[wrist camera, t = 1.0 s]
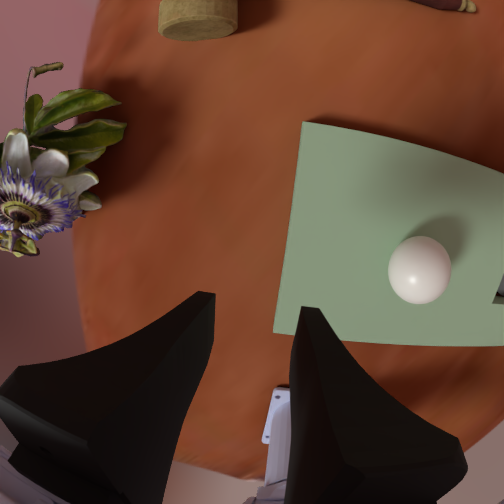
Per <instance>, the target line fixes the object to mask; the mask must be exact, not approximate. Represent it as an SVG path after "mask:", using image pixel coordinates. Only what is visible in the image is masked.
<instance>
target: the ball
mask: <svg viewBox="0 0 504 504" xmlns="http://www.w3.org/2000/svg"><path fill="white" fill-rule="evenodd" d="M388 276H389V281H390V284H391V286H392V288H393V290H394V291H395V293H396V294H397V295H398V296H399V297H400V298H402V299H403V300H405V301H407V302H409V303H412V304H426V303H429V302H432V301H434V300H435V299H437V298H438V297H439V296H441V295H442V293H443V292H444V291H445V290H446V288H447V286H448V284H449V281H450V278H451V261H450V258H449V255H448V253H447V251H446V250H445V248H444V247H443V246H442V245H441V244H440V243H439V242H437V241H436V240H434V239H432V238H430V237H426V236H414V237H411V238H408V239H406V240H404V241H403V242H401V243H400V244H399V245H398V246H397V247H396V249H395V250H394V251H393V253H392V255H391V257H390V260H389V265H388Z"/></svg>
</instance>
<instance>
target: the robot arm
mask: <svg viewBox="0 0 504 504" xmlns="http://www.w3.org/2000/svg"><path fill="white" fill-rule="evenodd" d="M215 298H216V294H215V293H208V292H202V291H198V292H196V293H195V294H193V295H192V296H190V297H189V298H188V299H186V300H185V301H183V302H182V303H181V304H179V305H178V306H177V307H175V308H174V309H172V310H171V311H169V312H168V313H167V314H165V315H164V316H162V317H161V318H159V319H157V320H156V321H154V322H153V323H151V324H149V325H148V326H146V327H144V328H143V329H141V330H139V331H137V332H135V333H134V334H132V335H130V336H128V337H125V338H123V339H121V340H119V341H117V342H115V343H112V344H110V345H107V346H104V347H101V348H99V349H96V350H93V351H90V352H88V353H85V354H81V355H78V356H74V357H70V358H67V359H62V360H58V361H52V362H47V363H40V364H32V365H25V366H18V367H17V368H16V369H15V370H14V372H13V373H12V374H11V375H10V376H9V377H8V379H6V381H5V382H4V383H3V384H2V385H1V387H0V418H1V419H2V421H3V422H4V423H5V425H6V426H7V428H8V429H9V430H10V432H11V433H12V434H13V436H14V437H15V438H16V440H17V441H18V442H19V444H18V445H17V447H16V449H15V450H14V451H13V453H11V452H10V451H8V450H7V449H6V448H4V447H3V446H2V445H0V504H162V501H163V497H164V492H165V488H166V484H167V480H168V475H169V471H170V467H171V464H172V460H173V456H174V452H175V449H176V445H177V442H178V438H179V435H180V431H181V428H182V424H183V421H184V419H185V416H186V413H187V411H188V409H189V406H190V404H191V402H192V399H193V397H194V395H195V392H196V390H197V388H198V385H199V383H200V380H201V378H202V376H203V373H204V371H205V369H206V366H207V364H208V360H209V357H210V353H211V349H212V345H213V342H214V322H215ZM289 386H290V388H282V387H277V388H275V389H274V390H273V394H272V399H271V403H270V407H269V412H268V416H267V420H266V424H265V428H264V432H263V436H262V442H263V443H266V444H269V450H268V459H267V468H266V476H265V485H264V487H258V491H257V497H249V498H248V499H247V500H246V501H245V502H244V503H243V504H437V502H436V501H437V500H439V499H440V498H441V497H442V496H444V495H445V494H446V493H448V492H449V491H450V490H451V489H453V488H454V487H455V486H456V485H457V484H458V483H459V482H460V481H461V480H462V479H463V478H464V476H465V475H466V473H467V471H468V465H467V462H466V459H465V456H464V453H463V450H462V447H461V444H460V442H459V439H458V438H457V437H455V436H453V435H451V434H449V433H447V432H445V431H443V430H441V429H440V428H438V427H436V426H434V425H432V424H430V423H429V422H427V421H425V420H424V419H422V418H421V417H419V416H418V415H416V414H415V413H413V412H412V411H410V410H409V409H408V408H406V407H405V406H403V405H402V404H401V403H399V402H398V401H397V400H396V399H395V398H393V397H392V396H391V395H390V394H389V393H387V392H386V391H385V390H384V389H383V388H382V387H381V386H379V385H378V384H377V383H376V382H375V381H374V380H373V379H372V378H371V377H370V376H369V375H368V374H367V373H366V372H365V370H364V369H363V368H362V367H361V366H360V365H359V364H358V363H357V361H356V360H355V359H354V358H353V356H352V355H351V354H350V353H349V351H348V350H347V349H346V347H345V346H344V345H343V343H342V342H341V340H340V339H339V338H338V336H337V335H336V333H335V332H334V330H333V329H332V327H331V326H330V324H329V322H328V321H327V319H326V318H325V316H324V314H323V313H322V311H321V310H320V309H319V308H315V307H307V306H301V309H300V314H299V319H298V323H297V328H296V332H295V337H294V341H293V346H292V350H291V359H290V372H289ZM277 395H279V396H277ZM498 504H504V500H502V501H501V502H499V503H498Z"/></svg>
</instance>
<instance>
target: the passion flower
mask: <svg viewBox="0 0 504 504" xmlns="http://www.w3.org/2000/svg"><path fill="white" fill-rule="evenodd" d="M62 68H63V63H61V62H56V63H52V64H45V65H42V66H40V67H30V69H29V72H28V75H27V81H26V86H25V95H24V108H23V124H24V126H23V130H22V129H17V128H16V129H12V130H11V131H10V132H9V133H8V135H7V136H6V138H5V140H4V142H3V143H0V250H3V251H9V252H12V253H14V254H15V255H16V256H17V257H20V256H23V255H28V256H38V255H39V254H40V251H39V249H38V248H37V247H36V245H35V242H34V240H39V239H41V238H42V237H43V236H44V234H45V233H48V232H53V231H55V232H61V231H63V230H64V227H66V228H72V222H73V221H74V220H75V219H77V218H78V217H80V216H81V217H84V218H85V216H86V215H83V214H82V210H85V211H86V210H96V209H99V208H101V207H102V204H101V201H100V198H99V197H98V196H97V195H96V194H94V193H92V192H90V191H87V190H88V189H89V188H90V187H91V186H94V185H96V184H97V183H99V179H98V177H97V175H96V174H94V173H93V171H91V170H90V169H88V168H86V167H85V165H87V164H89V163H91V162H93V161H95V160H96V159H98V158H99V157H100V156H101V155H102V154H103V153H104V152H105V150H106V147H107V146H110V145H114V144H115V143H118V142H119V141H120V140H122V139H123V133H124V129H125V128H126V126H127V123H120V122H117V121H114V120H110V119H95V120H92V121H90V122H87V123H83V124H77V125H75V126H73V127H72V128H71V129H69V130H65V131H64V130H59V129H56V128H55V127H54V126H53V125H57V124H58V123H61V122H63V121H65V120H67V119H70V118H73V117H75V116H78V115H80V114H84V113H86V112H90V111H100V110H102V109H104V108H108V107H111V106H115V105H119V104H122V103H121V102H120V101H116V100H114V99H113V98H112V97H111V96H109V95H108V94H105V93H103V92H102V91H100V90H94V89H82V88H79V89H75V90H68V91H63V92H61V93H59V94H58V95H57V96H56V97H54V98H52V99H51V100H50V101H49V103H48V104H47V105H45V106H44V107H43V108H42V106H43V104H42V103H43V99H42V97H41V96H40V95H39V94H35V95H32V96H30V97H29V99H28V101H27V102H26V98H27V88H28V82H29V76H30V72H31V70H32V71H33V78H35V77H36V76H37V75H39V74H42V73H45V72H47V71H54V70H61V69H62ZM41 108H42V109H41ZM32 145H34V146H36V147H43V148H46V149H45V150H42V149H38V148H34V147H30V146H32ZM30 237H31V238H33V239H34V240H32V239H31V238H30ZM22 240H25V241H26V243H25V242H24V241H22Z"/></svg>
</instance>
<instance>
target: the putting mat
mask: <svg viewBox="0 0 504 504" xmlns="http://www.w3.org/2000/svg"><path fill="white" fill-rule="evenodd" d="M414 236H426V237H430V238H432V239H434V240H436V241H437V242H439V243H440V244H441V245H442V246H443V247H444V248H445V250H446V251H447V253H448V255H449V258H450V261H451V278H450V281H449V284H448V286H447V288H446V290H445V291H444V292H443V293H442V295H441V296H439V297H438V298H437V299H435V300H434V301H432V302H429V303H426V304H412V303H409V302H407V301H405V300H403V299H402V298H400V297H399V296H398V295H397V294H396V293H395V291H394V290H393V288H392V286H391V284H390V281H389V276H388V265H389V260H390V257H391V255H392V253H393V251H394V250H395V249H396V247H397V246H398V245H399V244H400V243H401V242H403V241H404V240H406V239H408V238H411V237H414ZM496 292H498V293H499V294H500V295H502V296H495V295H496ZM503 296H504V174H503V173H501V172H498V171H495V170H493V169H490V168H488V167H485V166H482V165H479V164H477V163H474V162H471V161H468V160H465V159H462V158H459V157H456V156H453V155H450V154H447V153H444V152H440V151H437V150H434V149H430V148H427V147H423V146H420V145H416V144H412V143H409V142H405V141H401V140H397V139H393V138H389V137H384V136H380V135H375V134H371V133H366V132H361V131H356V130H351V129H346V128H341V127H335V126H329V125H323V124H317V123H310V122H304V121H303V122H302V128H301V136H300V145H299V153H298V161H297V169H296V177H295V185H294V192H293V200H292V207H291V214H290V221H289V228H288V235H287V242H286V249H285V256H284V262H283V269H282V275H281V282H280V288H279V294H278V300H277V307H276V313H275V319H274V327H273V333H281V334H289V335H295V332H296V328H297V323H298V319H299V314H300V309H301V306H307V307H315V308H319V309H320V310H321V311H322V313H323V314H324V316H325V318H326V319H327V321H328V322H329V324H330V326H331V327H332V329H333V330H334V332H335V333H336V335H337V336H338V338H339V339H340V340H345V341H357V342H370V343H384V344H402V345H426V346H504V297H503Z"/></svg>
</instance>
